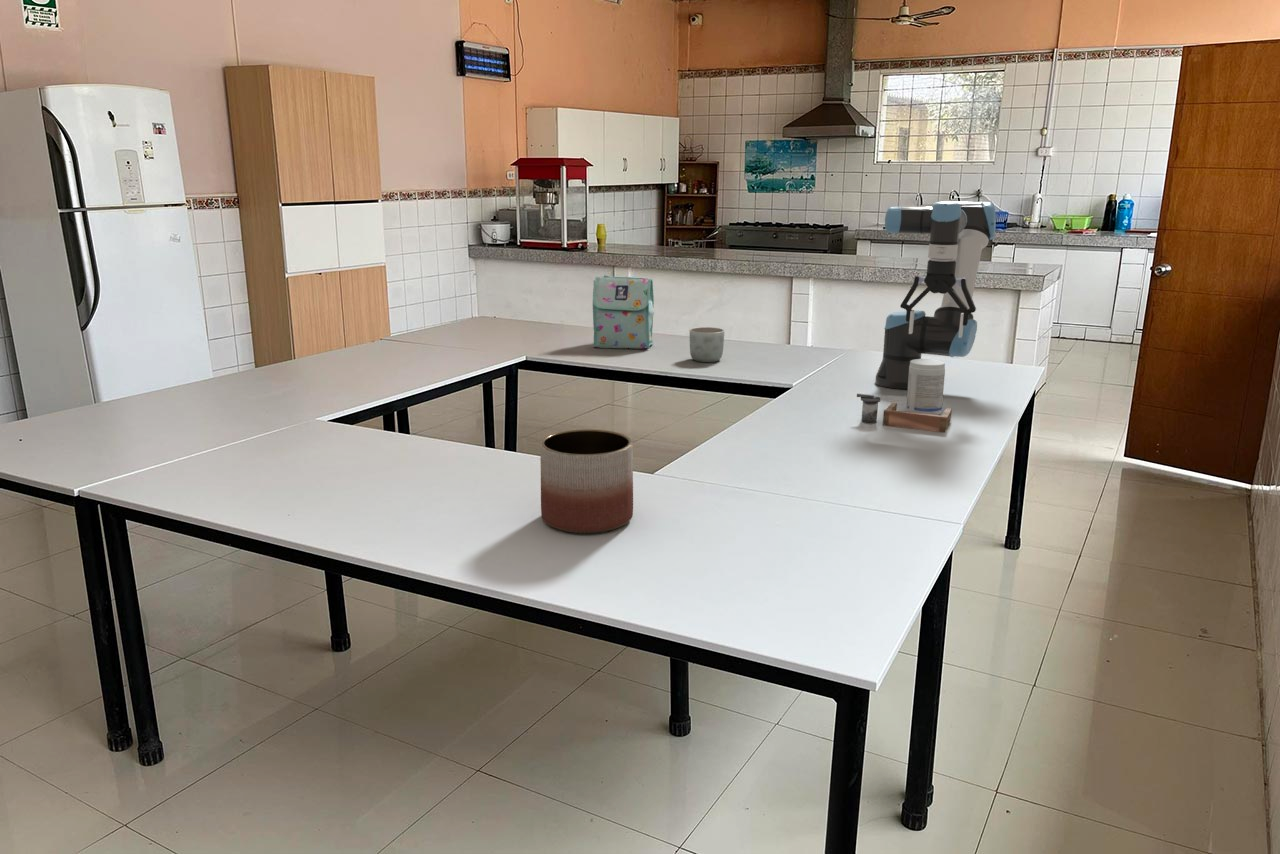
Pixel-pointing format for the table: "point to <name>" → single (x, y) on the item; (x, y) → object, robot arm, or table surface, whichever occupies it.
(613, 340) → the lunch bag
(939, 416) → the bay
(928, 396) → the supplement tub
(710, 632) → the table surface
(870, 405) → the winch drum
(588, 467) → the planter
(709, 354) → the planter
